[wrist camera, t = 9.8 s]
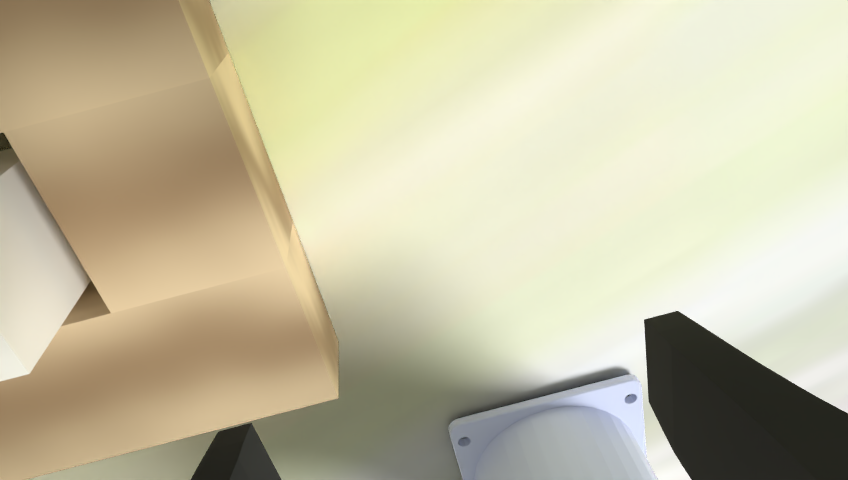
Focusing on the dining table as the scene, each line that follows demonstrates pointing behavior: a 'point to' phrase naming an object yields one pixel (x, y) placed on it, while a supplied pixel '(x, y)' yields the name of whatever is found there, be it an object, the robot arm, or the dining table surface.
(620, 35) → the dining table surface
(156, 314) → the socket plate
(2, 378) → the plug
